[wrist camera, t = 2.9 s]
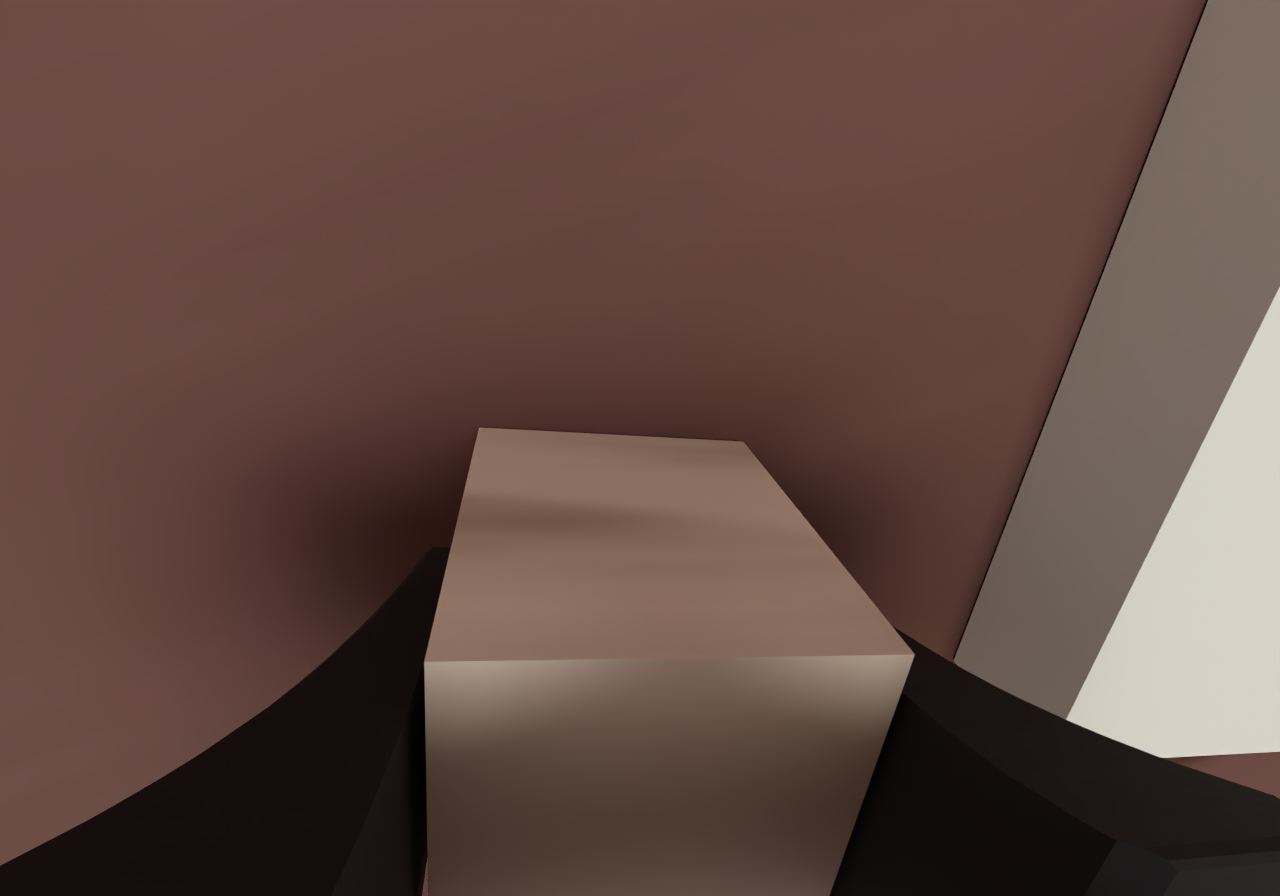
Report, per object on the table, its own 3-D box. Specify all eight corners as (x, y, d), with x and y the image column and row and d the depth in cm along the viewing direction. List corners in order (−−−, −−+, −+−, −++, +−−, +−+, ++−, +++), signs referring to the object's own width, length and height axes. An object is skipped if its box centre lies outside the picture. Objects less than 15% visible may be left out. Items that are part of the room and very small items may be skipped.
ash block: (703, 646, 14) (811, 945, 8) (474, 649, 13) (429, 986, 8) (743, 441, 12) (914, 654, 7) (479, 427, 11) (423, 662, 6)
